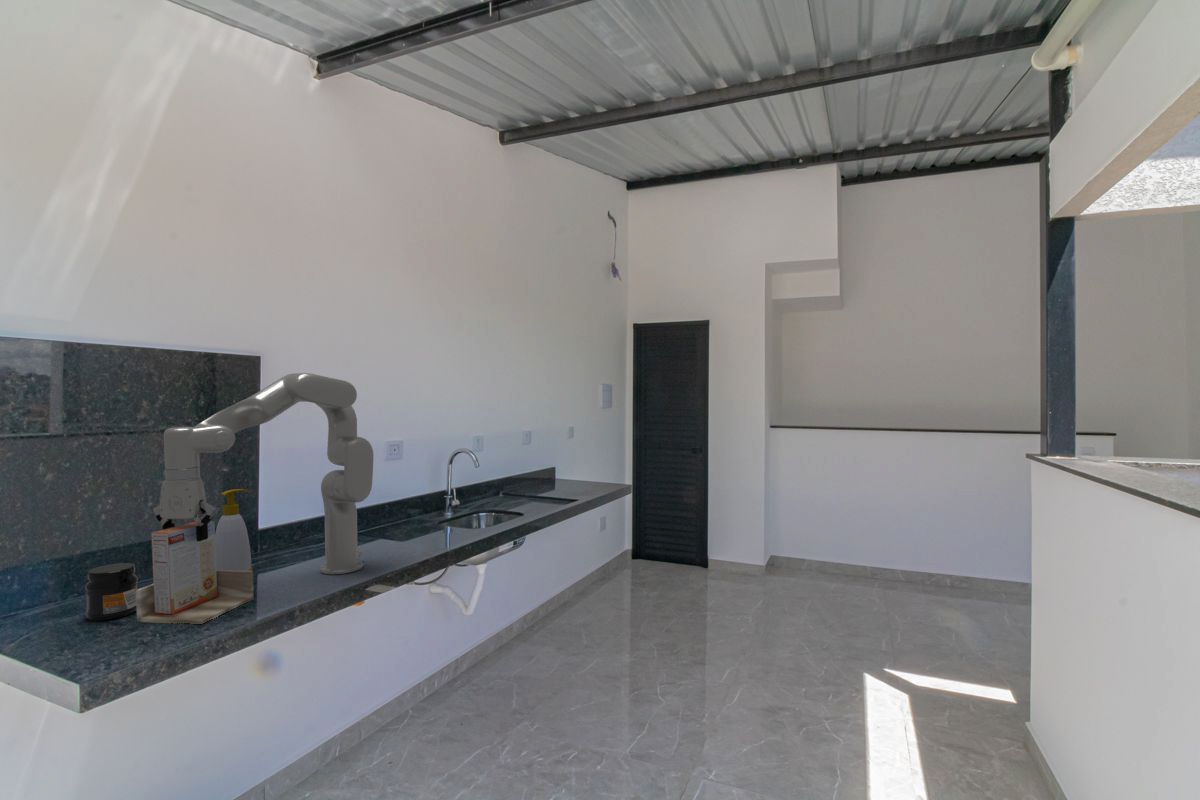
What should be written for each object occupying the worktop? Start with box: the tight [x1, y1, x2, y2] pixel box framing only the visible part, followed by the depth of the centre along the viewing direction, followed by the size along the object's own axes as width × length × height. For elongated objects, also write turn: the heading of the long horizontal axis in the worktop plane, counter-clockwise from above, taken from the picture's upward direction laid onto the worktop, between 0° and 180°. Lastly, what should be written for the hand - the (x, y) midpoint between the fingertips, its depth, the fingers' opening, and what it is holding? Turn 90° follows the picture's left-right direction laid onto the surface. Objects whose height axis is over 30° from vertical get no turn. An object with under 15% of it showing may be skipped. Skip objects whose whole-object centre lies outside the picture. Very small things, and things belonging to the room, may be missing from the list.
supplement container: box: [85, 562, 139, 622], centre depth 158 cm, size 10×10×12 cm
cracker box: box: [150, 520, 217, 615], centre depth 161 cm, size 14×6×21 cm, turn 167°
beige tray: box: [136, 570, 254, 625], centre depth 161 cm, size 18×18×8 cm
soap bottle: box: [215, 488, 254, 571], centre depth 193 cm, size 11×12×26 cm
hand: (185, 539), depth 161 cm, fingers open, 9 cm apart
